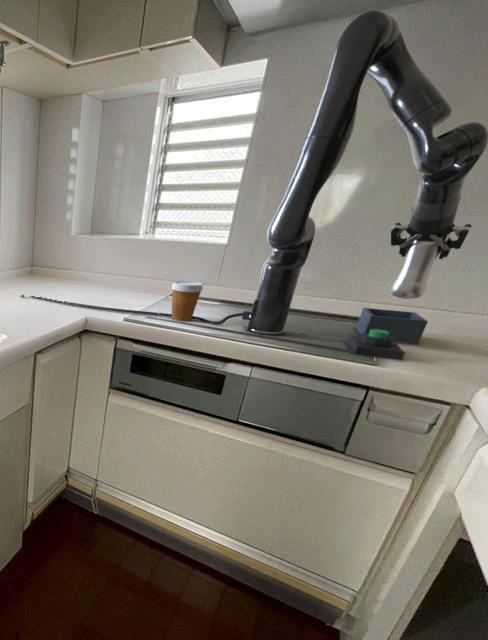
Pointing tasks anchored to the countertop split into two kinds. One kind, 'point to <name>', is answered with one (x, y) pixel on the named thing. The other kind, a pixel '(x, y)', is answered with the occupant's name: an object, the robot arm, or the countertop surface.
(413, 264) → the silver metal bottle
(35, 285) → the countertop surface
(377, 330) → the button
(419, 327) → the basket
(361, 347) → the control block
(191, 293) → the disposable coffee cup
